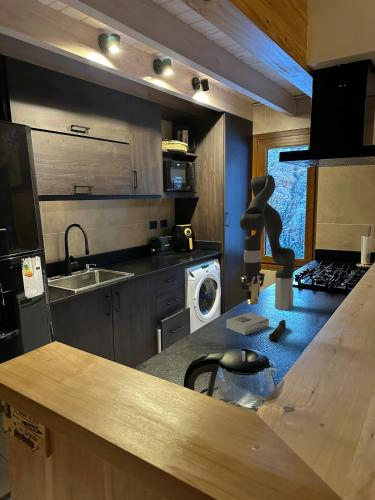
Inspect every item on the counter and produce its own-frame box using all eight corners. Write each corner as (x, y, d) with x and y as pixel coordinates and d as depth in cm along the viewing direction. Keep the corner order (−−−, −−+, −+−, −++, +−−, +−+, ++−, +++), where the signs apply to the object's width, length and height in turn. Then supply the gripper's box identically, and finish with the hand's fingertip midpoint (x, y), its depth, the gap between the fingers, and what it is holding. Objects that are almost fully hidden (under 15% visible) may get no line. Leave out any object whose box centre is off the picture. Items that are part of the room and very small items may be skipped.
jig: (249, 320, 173) (249, 312, 173) (268, 326, 164) (268, 318, 163) (226, 327, 164) (226, 319, 163) (245, 335, 154) (245, 326, 154)
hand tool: (277, 343, 145) (278, 333, 145) (268, 341, 148) (268, 331, 147) (290, 329, 161) (290, 319, 161) (282, 327, 163) (282, 318, 163)
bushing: (252, 300, 158) (252, 281, 156) (260, 302, 154) (260, 283, 152) (245, 302, 155) (244, 283, 153) (253, 305, 151) (253, 285, 150)
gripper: (256, 256, 159) (256, 293, 161) (234, 261, 150) (235, 299, 152) (269, 258, 153) (269, 296, 155) (247, 263, 144) (248, 303, 147)
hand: (252, 297), depth 154 cm, fingers closed on bushing, 4 cm apart
